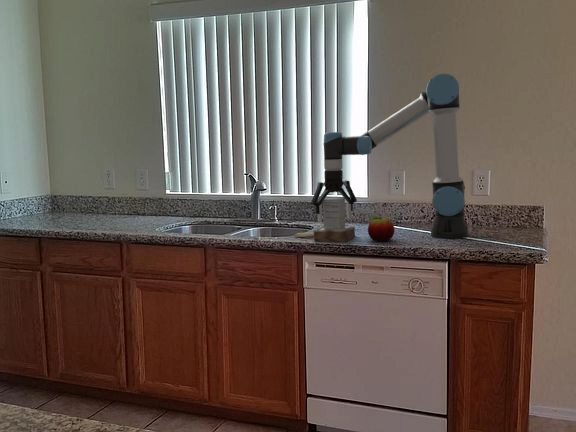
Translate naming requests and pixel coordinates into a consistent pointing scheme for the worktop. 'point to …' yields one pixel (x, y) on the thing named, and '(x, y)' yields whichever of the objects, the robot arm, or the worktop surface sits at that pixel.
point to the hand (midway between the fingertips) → (334, 220)
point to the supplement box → (334, 213)
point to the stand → (334, 234)
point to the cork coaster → (305, 234)
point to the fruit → (380, 229)
